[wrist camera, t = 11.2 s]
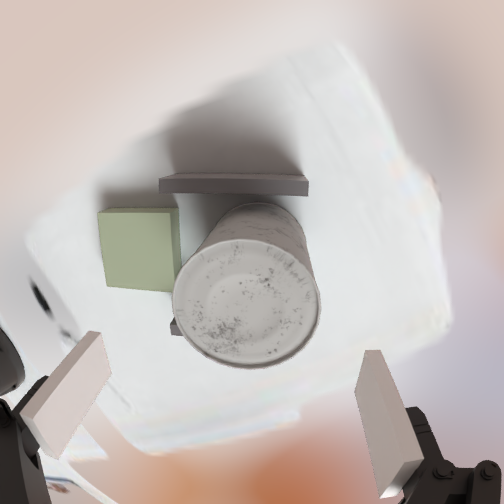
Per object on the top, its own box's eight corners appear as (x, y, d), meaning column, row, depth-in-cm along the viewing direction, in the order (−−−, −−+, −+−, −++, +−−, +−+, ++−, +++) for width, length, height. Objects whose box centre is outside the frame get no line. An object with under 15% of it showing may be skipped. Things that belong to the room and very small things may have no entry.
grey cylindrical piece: (197, 216, 31) (149, 260, 19) (293, 190, 29) (301, 219, 18) (227, 302, 33) (201, 378, 22) (316, 281, 32) (332, 354, 20)
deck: (117, 277, 34) (106, 286, 31) (109, 207, 31) (97, 212, 29) (182, 282, 33) (175, 292, 31) (178, 207, 31) (170, 213, 28)
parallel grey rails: (184, 310, 34) (171, 334, 30) (177, 173, 29) (158, 178, 25) (294, 317, 33) (296, 344, 29) (304, 175, 29) (308, 181, 24)
